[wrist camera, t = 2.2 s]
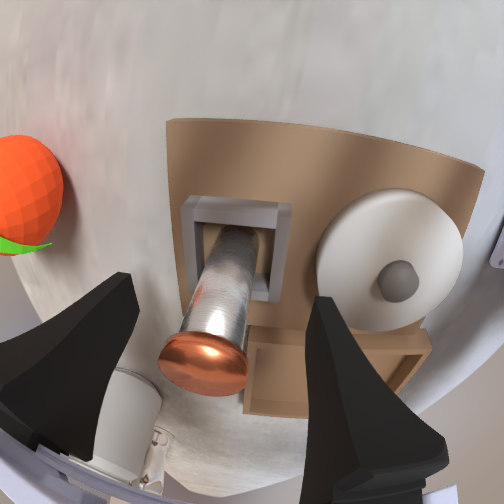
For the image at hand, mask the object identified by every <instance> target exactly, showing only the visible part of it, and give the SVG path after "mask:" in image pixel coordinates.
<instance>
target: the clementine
mask: <svg viewBox="0 0 504 504" xmlns="http://www.w3.org/2000/svg"><path fill="white" fill-rule="evenodd" d="M62 198H63V177H62V173H61V170H60V166H59V164H58V162H57V160H56V158H55V156H54V155H53V154H52V152H51V151H50V150H49V149H48V148H47V147H46V146H45V145H43V144H42V143H41V142H40V141H38V140H37V139H34V138H32V137H29V136H23V135H11V136H7V137H2V138H0V255H5V256H15V255H18V254H25V253H30V252H35V251H38V250H40V249H42V248H44V247H46V246H48V245H50V244H53V243H49V244H45V245H40V246H37V245H38V244H40V243H41V242H42V241H43V240H44V239H45V237H46V236H47V235H48V234H49V232H50V231H51V230H52V228H53V227H54V225H55V223H56V220H57V218H58V216H59V213H60V210H61V207H62Z"/></svg>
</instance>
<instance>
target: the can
mask: <svg viewBox="0 0 504 504" xmlns="http://www.w3.org/2000/svg"><path fill="white" fill-rule="evenodd" d="M161 404H162V398H161V397H160V395H159V394H158V392H157V390H156V388H155V386H154V385H153V384H151V383H150V382H149V381H148V380H146V379H145V378H143V377H142V376H140V375H138V374H136V373H134V372H131V371H129V370H126V369H121V368H115V369H114V371H113V373H112V376H111V378H110V381H109V384H108V387H107V390H106V393H105V396H104V400H103V404H102V407H101V411H100V415H99V420H98V425H97V430H96V436H95V443H94V451H93V460H91V461H89V462H84V461H82V460H80V459H78V458H76V457H74V456H72V458H70V459H69V460H70V461H72V462H74V463H76V464H78V465H80V466H82V467H84V468H87V469H89V470H91V471H93V472H95V473H98V474H100V475H103V476H105V477H107V478H110V479H112V480H115V481H118V482H120V483H123V484H126V485H128V484H129V482H130V481H132V480H134V479H136V478H139V475H140V472H141V468H142V465H143V462H144V458H145V455H146V452H147V448H148V445H149V442H150V439H151V436H152V432H153V429H154V426H155V423H156V420H157V417H158V414H159V410H160V407H161Z"/></svg>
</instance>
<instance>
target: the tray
mask: <svg viewBox="0 0 504 504" xmlns="http://www.w3.org/2000/svg"><path fill="white" fill-rule="evenodd" d="M305 333H306V331H305V330H293V329H282V328H272V327H263V326H254V325H250V330H249V336H248V345H247V358H248V360H249V372H248V379H247V384H246V386H245V388H244V401H243V414H250V415H259V416H270V417H283V418H300V419H309V404H308V390H307V377H306V365H305ZM352 335H353V337H354V338H355V340H356V342H357V343H358V345H359V346H360V348H361V350H362V351H363V353H364V354H365V356H366V357H367V359H368V360H369V362H370V363H371V364H372V366H373V367H374V369H375V370H376V371H377V373H378V374H379V375H380V376H381V378H382V379H383V380H384V382H385V383H386V384H387V385H388V386H389V387H390V389H391V390H392V391H393V392H394V393H395V394H396V395H398V394H399V393H400V392H401V390H402V389H403V388H404V387H405V386H406V384H407V383H408V382H409V381H410V379H411V378H412V377H413V376H414V374H415V373H416V372H417V371H418V369H419V368H420V367H421V365H422V364H423V363H424V361H425V360H426V359H427V357H428V356H429V354H430V353H431V352H432V350H433V347H432V344H431V341H430V338H429V336H428V333H427V331H426V329H418V330H417V332H416V334H415V335H377V334H352Z"/></svg>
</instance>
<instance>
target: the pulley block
mask: <svg viewBox="0 0 504 504" xmlns="http://www.w3.org/2000/svg"><path fill="white" fill-rule="evenodd" d="M166 139H167V165H168V183H169V197H170V210H171V222H172V233H173V243H174V252H175V261H176V269H177V277H178V285H179V292H180V300H181V306H182V313H183V316H185V315H186V313H187V310H188V307H189V305H190V302H191V300H192V297H193V295H194V292H195V289H196V287H197V284H198V282H199V279H200V277H201V274H202V272H203V269H204V267H205V265H206V262H207V260H208V257H209V255H210V252H211V250H212V247H213V245H214V243H215V240H216V238H217V235H218V233H219V231H220V230H221V229H222V228H223V227H225V226H226V225H229V224H231V225H242V226H249V227H251V228H252V229H253V230H254V231H255V232H256V233H257V235H258V237H259V240H260V246H259V253H258V259H257V265H256V271H255V277H254V283H253V289H252V295H251V301H250V307H249V313H248V319H247V325H254V326H263V327H272V328H282V329H293V330H305V331H306V329H307V325H308V321H309V318H310V314H311V310H312V307H313V303H314V299H315V296H326V297H332V298H333V300H334V302H335V304H336V306H337V308H338V310H339V312H340V313H341V315H342V317H343V319H344V321H345V323H346V325H347V326H348V328H349V330H350V332H351V333H352V334H377V335H415V334H416V332H417V330H418V329H419V327H420V325H421V323H422V322H423V320H424V318H425V316H426V315H427V314H429V313H430V312H431V311H433V310H434V309H435V308H436V307H437V306H438V305H439V304H440V303H441V302H442V301H443V300H444V299H445V298H446V297H447V295H448V294H449V293H450V291H451V290H452V288H453V286H454V285H455V283H456V281H457V278H458V276H459V273H460V270H461V267H462V261H463V244H462V239H463V237H464V234H465V231H466V229H467V226H468V223H469V221H470V218H471V215H472V212H473V209H474V206H475V203H476V200H477V197H478V194H479V190H480V187H481V184H482V180H483V176H484V173H485V171H484V170H483V169H481V168H479V167H478V166H476V165H474V164H471V163H468V162H465V161H462V160H459V159H456V158H453V157H450V156H447V155H444V154H440V153H437V152H434V151H430V150H427V149H423V148H420V147H416V146H412V145H408V144H404V143H400V142H396V141H392V140H387V139H383V138H378V137H374V136H369V135H364V134H358V133H353V132H347V131H342V130H336V129H329V128H322V127H315V126H308V125H300V124H291V123H281V122H270V121H257V120H240V119H209V118H183V119H172V120H169V121H166Z"/></svg>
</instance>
